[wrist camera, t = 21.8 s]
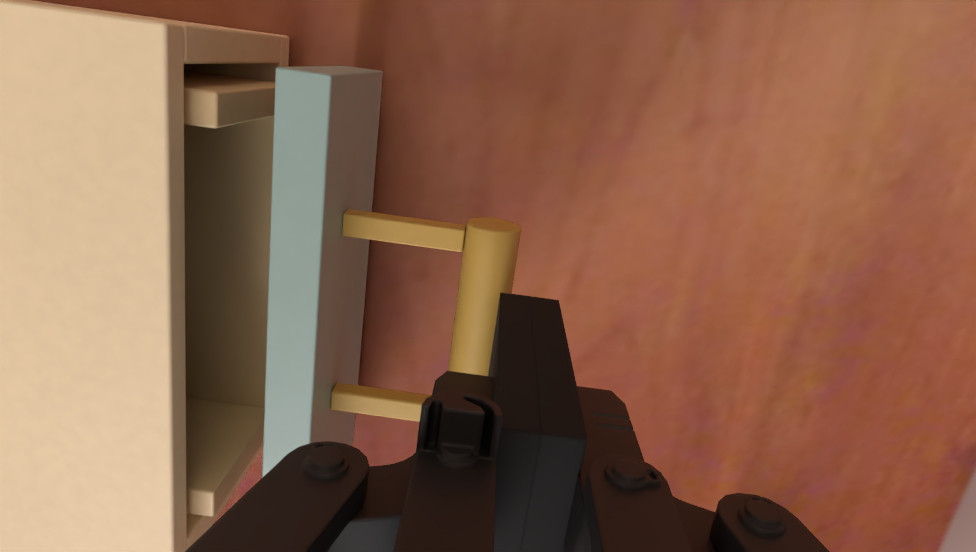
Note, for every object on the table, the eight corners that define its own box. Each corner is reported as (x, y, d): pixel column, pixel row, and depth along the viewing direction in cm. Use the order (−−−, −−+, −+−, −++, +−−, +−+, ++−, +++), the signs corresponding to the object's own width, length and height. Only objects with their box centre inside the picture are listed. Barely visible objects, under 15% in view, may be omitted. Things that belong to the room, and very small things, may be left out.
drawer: (536, 91, 20) (544, 103, 14) (482, 458, 23) (471, 580, 18) (-111, 2, 20) (-356, -21, 14) (-61, 384, 23) (-239, 483, 18)
